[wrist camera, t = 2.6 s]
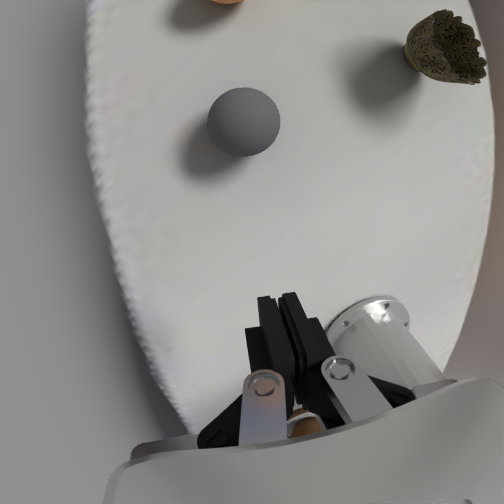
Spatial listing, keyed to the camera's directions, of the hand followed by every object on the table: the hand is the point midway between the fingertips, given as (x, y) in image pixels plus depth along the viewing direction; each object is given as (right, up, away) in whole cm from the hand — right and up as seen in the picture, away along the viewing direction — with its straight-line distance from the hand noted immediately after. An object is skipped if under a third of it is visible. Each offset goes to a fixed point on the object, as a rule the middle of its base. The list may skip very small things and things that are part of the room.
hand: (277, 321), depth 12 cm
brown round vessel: (+16, +24, +8) cm, 30 cm away
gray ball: (-2, +13, +7) cm, 15 cm away
